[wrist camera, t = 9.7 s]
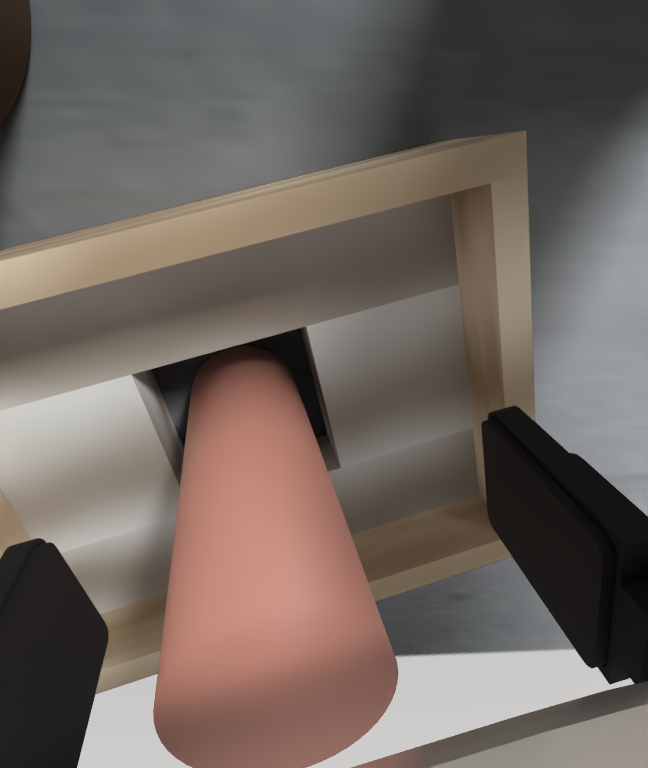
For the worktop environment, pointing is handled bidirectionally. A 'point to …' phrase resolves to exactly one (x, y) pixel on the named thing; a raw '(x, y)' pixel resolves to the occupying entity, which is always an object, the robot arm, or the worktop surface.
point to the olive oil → (13, 50)
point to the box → (260, 320)
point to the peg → (264, 586)
